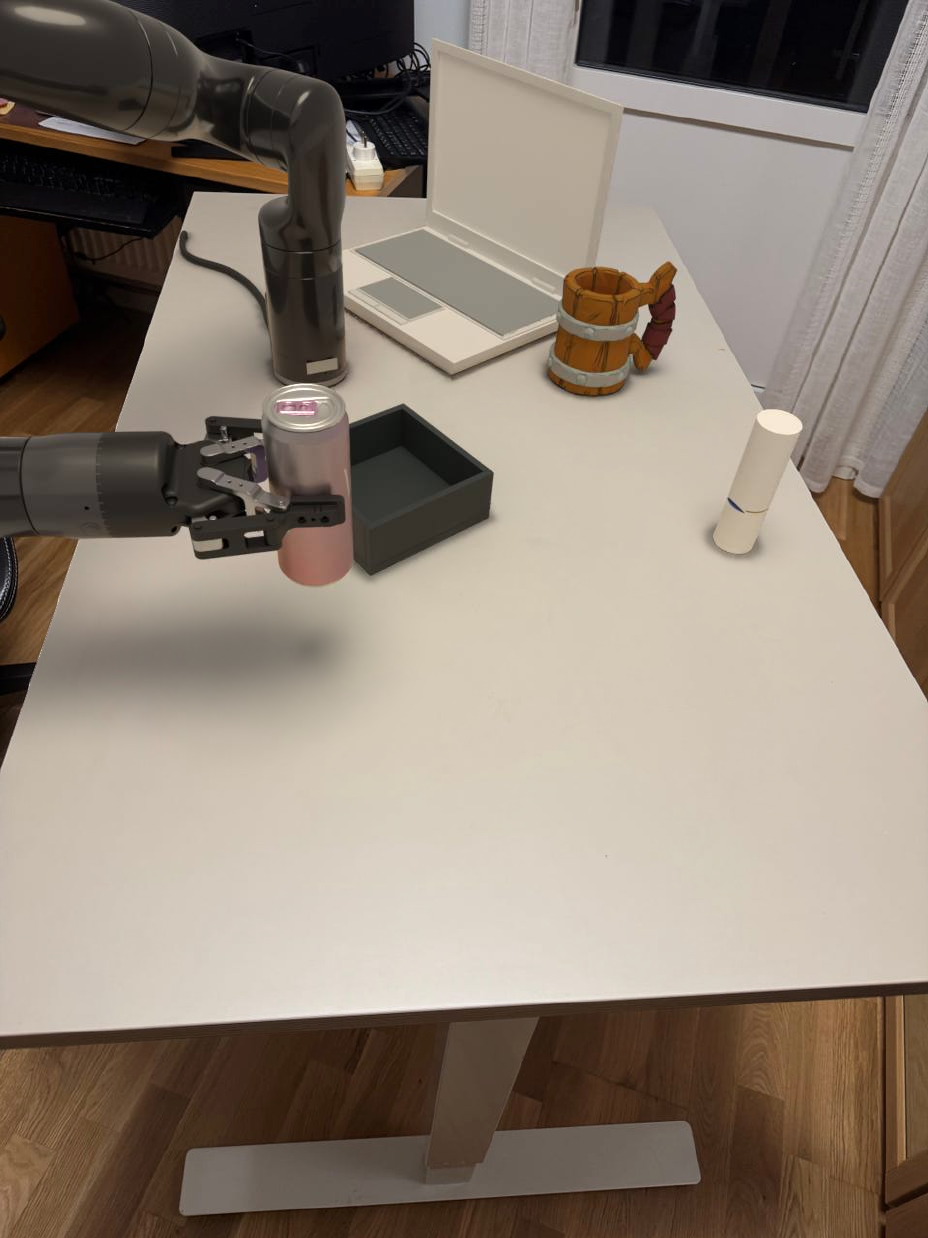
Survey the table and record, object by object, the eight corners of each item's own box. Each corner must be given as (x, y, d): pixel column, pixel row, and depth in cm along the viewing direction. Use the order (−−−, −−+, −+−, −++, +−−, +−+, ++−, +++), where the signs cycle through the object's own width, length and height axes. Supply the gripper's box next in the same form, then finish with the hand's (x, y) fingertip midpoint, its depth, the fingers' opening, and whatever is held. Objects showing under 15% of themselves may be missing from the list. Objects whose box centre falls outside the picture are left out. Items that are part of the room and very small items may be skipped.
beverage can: (281, 540, 70) (262, 380, 59) (354, 540, 70) (348, 382, 60) (276, 591, 66) (255, 430, 55) (353, 591, 66) (347, 431, 56)
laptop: (297, 281, 126) (279, 60, 105) (430, 240, 139) (437, 36, 119) (452, 381, 109) (467, 141, 89) (587, 324, 123) (627, 104, 102)
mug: (534, 357, 115) (549, 246, 104) (646, 351, 118) (672, 243, 107) (556, 400, 108) (575, 286, 97) (675, 393, 111) (706, 282, 100)
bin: (287, 494, 91) (282, 448, 87) (402, 447, 99) (403, 402, 94) (370, 575, 83) (369, 529, 79) (489, 517, 91) (494, 472, 86)
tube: (754, 533, 92) (803, 415, 81) (750, 558, 89) (801, 438, 78) (715, 523, 93) (758, 405, 82) (710, 547, 90) (754, 428, 79)
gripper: (74, 509, 52) (345, 503, 55) (110, 384, 62) (340, 383, 64) (103, 594, 58) (348, 584, 60) (132, 466, 68) (343, 463, 70)
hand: (343, 480), depth 62 cm, fingers closed on beverage can, 6 cm apart
